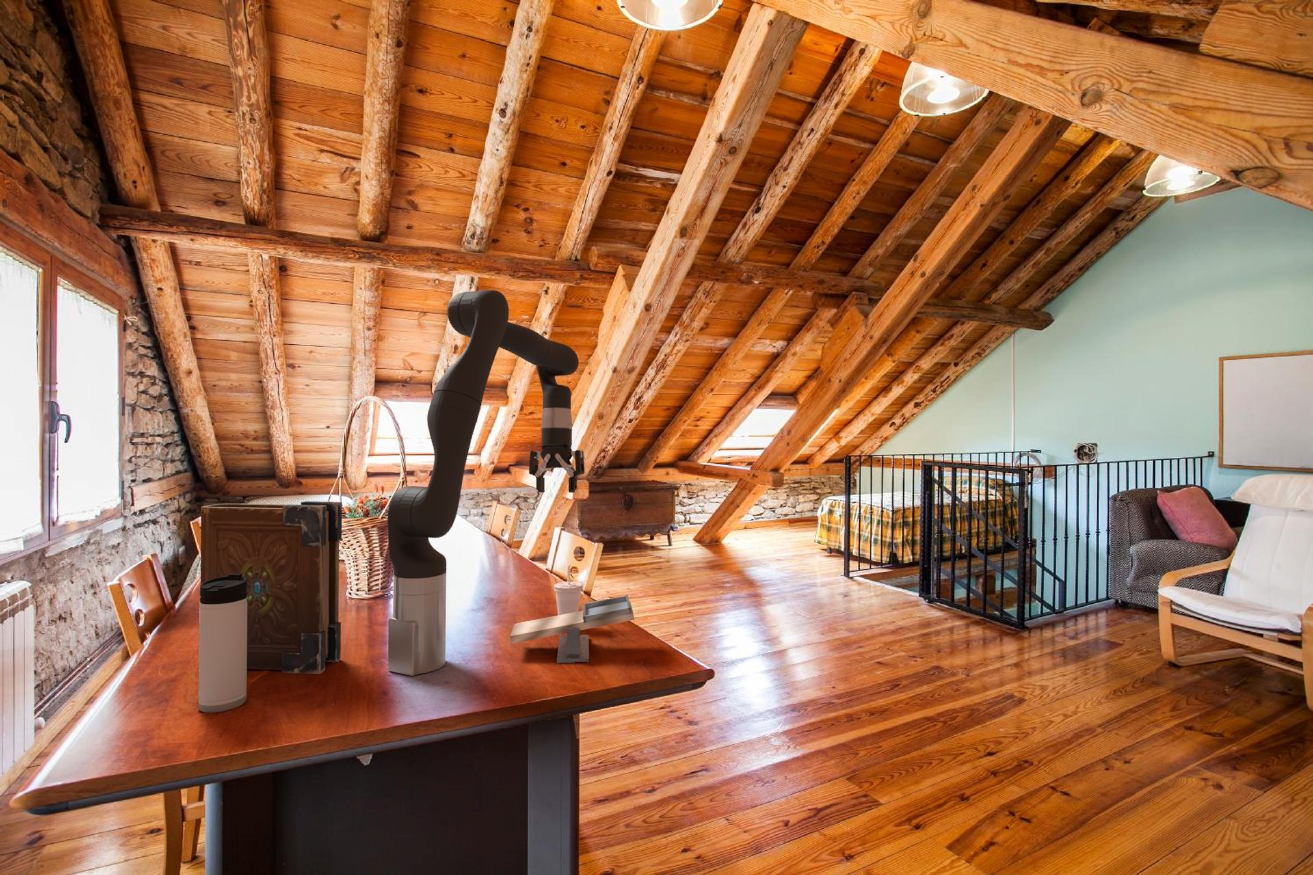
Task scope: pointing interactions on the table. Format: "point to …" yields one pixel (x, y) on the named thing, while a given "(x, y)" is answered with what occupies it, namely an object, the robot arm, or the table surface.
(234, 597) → the travel mug
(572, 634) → the pivot stand
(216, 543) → the decorative book
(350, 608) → the table surface
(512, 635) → the balance beam
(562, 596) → the smoothie
